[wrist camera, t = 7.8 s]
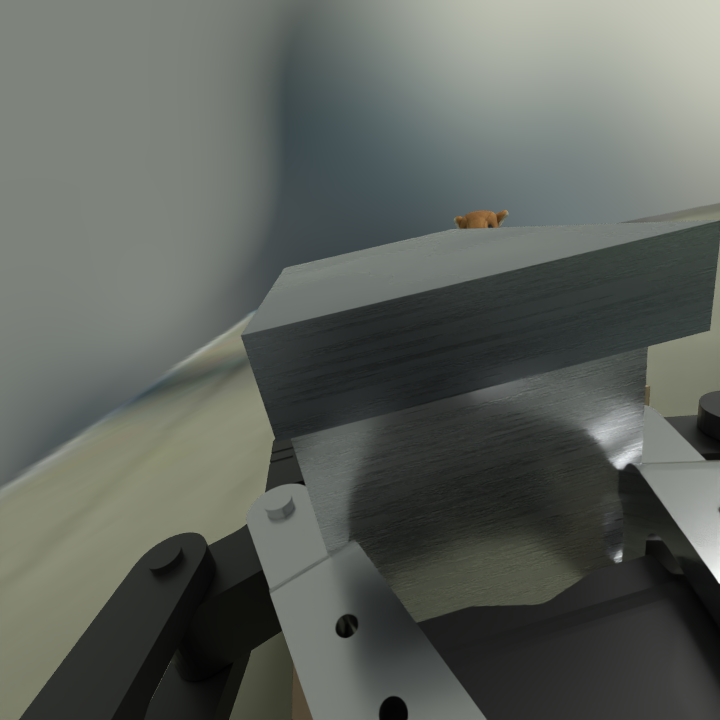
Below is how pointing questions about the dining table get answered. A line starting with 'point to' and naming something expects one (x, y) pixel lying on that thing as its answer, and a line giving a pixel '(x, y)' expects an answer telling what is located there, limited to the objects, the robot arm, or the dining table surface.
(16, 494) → the dining table surface
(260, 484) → the dining table surface
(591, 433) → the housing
